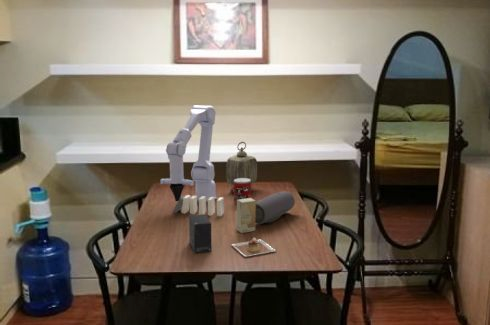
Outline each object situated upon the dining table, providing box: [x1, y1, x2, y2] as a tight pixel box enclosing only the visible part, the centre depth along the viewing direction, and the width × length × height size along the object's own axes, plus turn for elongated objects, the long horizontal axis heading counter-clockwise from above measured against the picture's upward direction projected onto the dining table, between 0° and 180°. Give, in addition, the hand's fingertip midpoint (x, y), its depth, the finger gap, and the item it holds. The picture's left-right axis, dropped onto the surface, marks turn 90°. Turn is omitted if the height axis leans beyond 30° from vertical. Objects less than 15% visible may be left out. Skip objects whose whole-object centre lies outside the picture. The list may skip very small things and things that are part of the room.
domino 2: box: [181, 194, 192, 214], centre depth 207 cm, size 2×4×7 cm, turn 166°
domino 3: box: [189, 195, 198, 215], centre depth 206 cm, size 2×4×7 cm, turn 166°
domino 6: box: [216, 197, 225, 217], centre depth 203 cm, size 2×4×7 cm, turn 166°
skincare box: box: [236, 197, 257, 234], centre depth 184 cm, size 6×4×12 cm
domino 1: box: [173, 194, 186, 214], centre depth 208 cm, size 2×4×7 cm, turn 167°
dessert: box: [230, 237, 277, 258], centre depth 166 cm, size 12×12×5 cm
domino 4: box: [198, 196, 207, 215], centre depth 205 cm, size 2×4×7 cm, turn 166°
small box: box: [188, 213, 213, 254], centre depth 168 cm, size 11×6×10 cm, turn 17°
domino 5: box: [207, 197, 216, 217], centre depth 204 cm, size 2×4×7 cm, turn 166°
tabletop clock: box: [225, 141, 258, 194], centre depth 238 cm, size 14×9×25 cm, turn 144°
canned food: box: [233, 178, 252, 206], centre depth 219 cm, size 8×8×11 cm
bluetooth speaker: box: [255, 190, 296, 225], centre depth 197 cm, size 23×9×10 cm, turn 145°
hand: (177, 200), depth 208 cm, fingers closed
